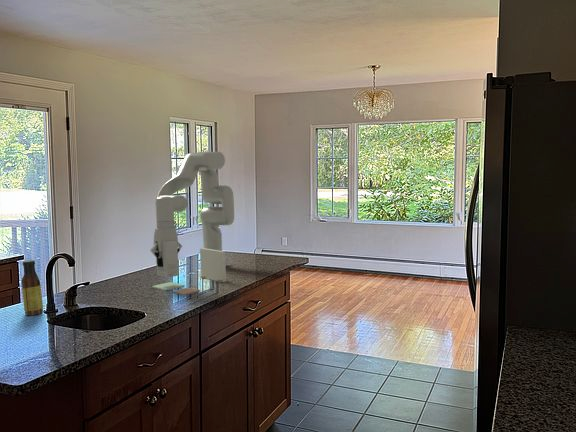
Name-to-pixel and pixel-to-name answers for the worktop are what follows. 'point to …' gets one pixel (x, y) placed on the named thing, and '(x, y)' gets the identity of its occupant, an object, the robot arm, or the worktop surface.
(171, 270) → the skincare box
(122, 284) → the worktop surface
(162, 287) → the green pad
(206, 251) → the screen
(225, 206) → the robot arm
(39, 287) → the sauce bottle
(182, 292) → the terracotta tile
